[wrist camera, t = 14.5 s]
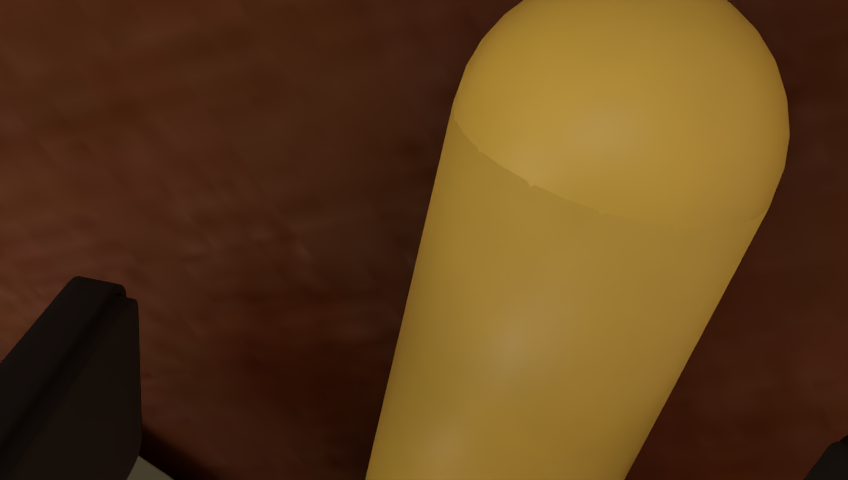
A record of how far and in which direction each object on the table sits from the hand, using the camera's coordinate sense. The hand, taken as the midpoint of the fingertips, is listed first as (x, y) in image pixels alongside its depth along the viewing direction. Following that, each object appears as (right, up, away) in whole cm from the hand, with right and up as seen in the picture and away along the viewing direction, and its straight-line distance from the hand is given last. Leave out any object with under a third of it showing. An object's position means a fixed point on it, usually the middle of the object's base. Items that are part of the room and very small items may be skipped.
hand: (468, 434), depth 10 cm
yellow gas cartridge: (0, +1, +2) cm, 2 cm away
